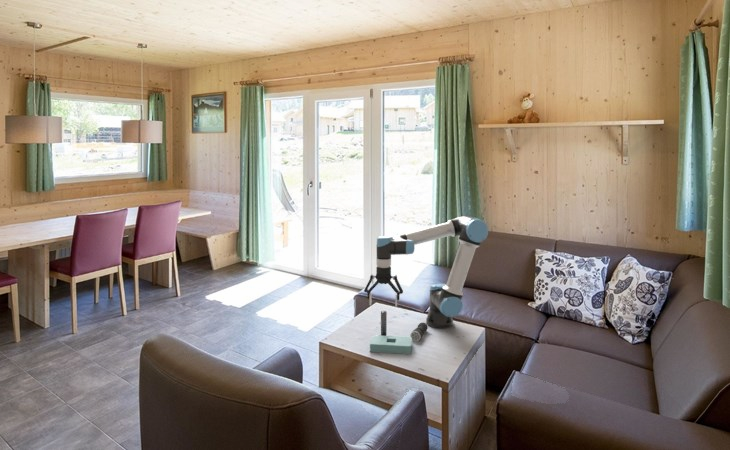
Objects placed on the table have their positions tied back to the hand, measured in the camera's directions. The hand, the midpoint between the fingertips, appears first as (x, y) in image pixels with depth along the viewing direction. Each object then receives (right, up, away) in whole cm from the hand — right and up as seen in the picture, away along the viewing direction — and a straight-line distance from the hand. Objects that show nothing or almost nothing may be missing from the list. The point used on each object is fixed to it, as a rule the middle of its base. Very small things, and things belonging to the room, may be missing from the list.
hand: (383, 305), depth 233 cm
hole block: (+4, -19, -11) cm, 22 cm away
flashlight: (+20, -17, +4) cm, 27 cm away
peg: (0, -17, +3) cm, 18 cm away
